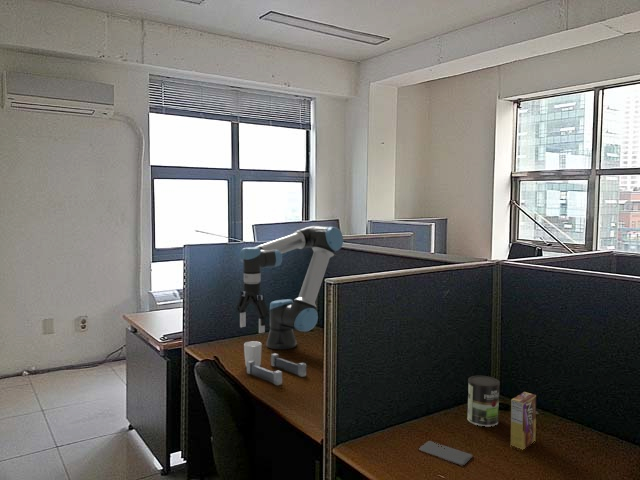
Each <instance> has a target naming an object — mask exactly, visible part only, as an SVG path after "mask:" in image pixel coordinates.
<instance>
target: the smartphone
mask: <svg viewBox="0 0 640 480" xmlns="http://www.w3.org/2000/svg"><path fill="white" fill-rule="evenodd" d="M434 442H435V441H431V440H428V441H426V442H425V443H423V444H424V445H423V444H422V445H421V446H420V448H419V447H418V448H419V450H421V451H423V452H426V453H429V454H432V455H435V456H438V457H440V458H443V459H445V460H448V461H451V462H453V463H456V464H459V465H465V464H466V463H467V462H468V461H469V460H470V458H472V456H473V454H472V453H468V452H465V451H462V450H459V449H457V448H456V449H455V448H453V447H450V446H447V445H444V444H441V445H440V443H438V442H435V443H434ZM436 443H437V444H436ZM438 444H439V445H438ZM438 446H439V447H438ZM441 446H442V447H441ZM444 448H445V449H444ZM473 457H474V456H473ZM472 459H473V458H472ZM470 461H471V460H470ZM470 461H469V462H470ZM469 462H468V463H469ZM453 463H452V464H453ZM468 463H467V464H468ZM456 464H455V465H456ZM467 464H466V465H467ZM466 465H465V466H466Z"/></svg>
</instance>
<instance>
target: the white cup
mask: <svg viewBox="0 0 640 480" xmlns="http://www.w3.org/2000/svg"><path fill="white" fill-rule="evenodd" d="M262 343H263V342H260V341H257V340H255V341H254V340H253V341H245V342H244V344H243V349H244V350H243V353H244V360H245V361H244V363H245V367H246V368H247V361H249V360H252V361H254V365H257V366H260V367H261V362H262V349H263V348H262V346H263V344H262Z"/></svg>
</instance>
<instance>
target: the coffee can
mask: <svg viewBox="0 0 640 480" xmlns="http://www.w3.org/2000/svg"><path fill="white" fill-rule="evenodd" d="M467 382H468V389H467V391H468V393H467V394H468V395H467V417H466V419H467V421H468V422H469V423H471V424H473V425H475V426H477V425H478V426H477V427H482V426H485V428H489V427H490V428H491V426H492V427H495V425H496V426H497V425H498V424H499V411H500V410H499V403H500V386H501V381H500V380H499V379H497V378H495V377H492V376H487V375H472V376H470V377H468V379H467Z"/></svg>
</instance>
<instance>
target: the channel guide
mask: <svg viewBox="0 0 640 480" xmlns="http://www.w3.org/2000/svg"><path fill="white" fill-rule="evenodd" d="M270 366H271V367H274V368H278V370H275V371H273V370H270V369H268V368H265V367H262V366H261V365H260V366H257V365H254V361H252V360H249V361H247V367H246V374H248V375H252V376H254V377H257V378H260V379H262V380H263V381H264V380H265V381H267V382H270V383H272V384H274V385H275V386H280V385H282V384H283V371H281V370H284V371H286V372H289V373H291V374H293V375H297V376H298V377H301V378H304V377H307V363H305V362H299V363H295V362H293V361H291V360H290V361H289V360H287V359H284V358H281V357H279V353H275V352H274V353H271V354H270ZM279 369H280V370H279Z"/></svg>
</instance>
